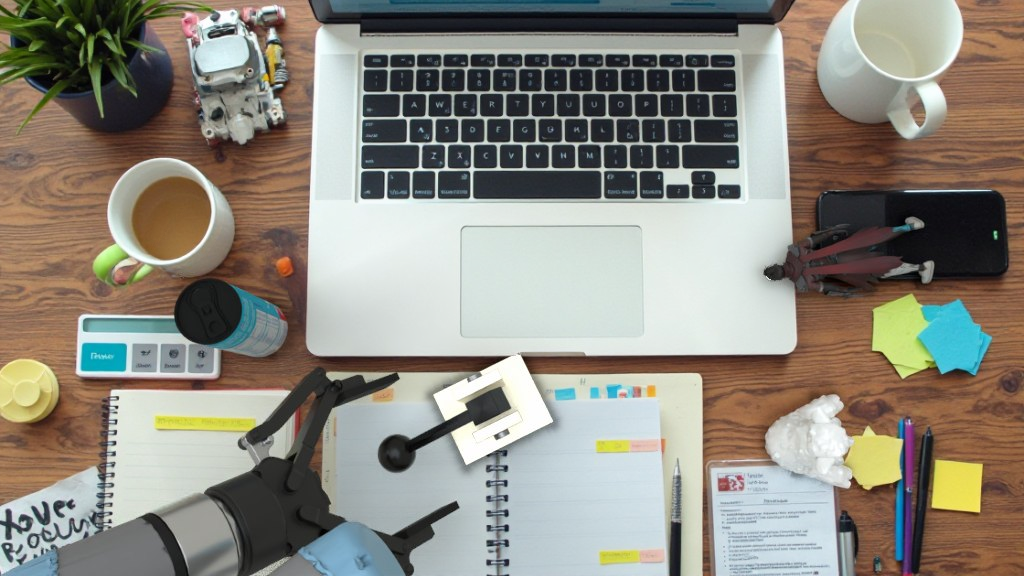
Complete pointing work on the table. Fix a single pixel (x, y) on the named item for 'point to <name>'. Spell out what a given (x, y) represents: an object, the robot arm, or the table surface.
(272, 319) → the beverage can
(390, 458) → the switch
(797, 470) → the sitting furry creature
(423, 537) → the robot arm
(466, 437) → the white c-shaped piece
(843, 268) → the action figure
